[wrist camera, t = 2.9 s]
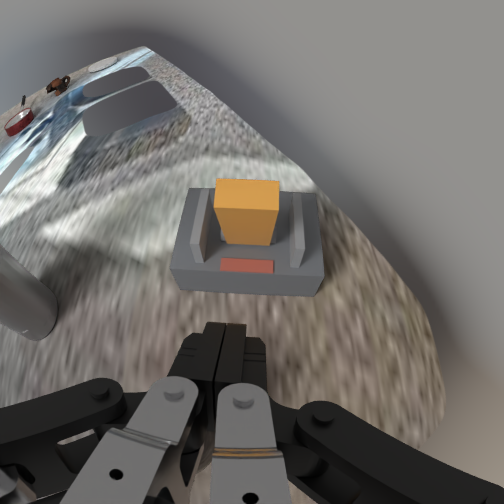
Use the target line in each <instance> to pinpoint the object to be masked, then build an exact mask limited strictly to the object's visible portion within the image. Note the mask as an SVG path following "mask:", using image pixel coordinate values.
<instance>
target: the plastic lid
mask: <svg viewBox="0 0 504 504" xmlns="http://www.w3.org/2000/svg"><path fill="white" fill-rule="evenodd" d="M116 62H117V58H116V57H111V58H107V59H104V60H101V61H99V62H97V63H95V64H93V65H92V66H90V67H89V72H95V71H98V70H101V69H104V68H106V67H108V66H111V65H112V64H114V63H116Z"/></svg>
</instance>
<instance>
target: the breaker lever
mask: <svg viewBox="0 0 504 504" xmlns="http://www.w3.org/2000/svg"><path fill="white" fill-rule="evenodd" d="M214 210H215V213H216V216H217V218H218V221H219V224H220V226H221V241H226V242H227V244H244V245H264V246H269V245H270V243H273V244H276V235H277V227H275V223H276V219H277V215H278V211H279V181H268V180H247V179H216V188H215V198H214Z"/></svg>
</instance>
